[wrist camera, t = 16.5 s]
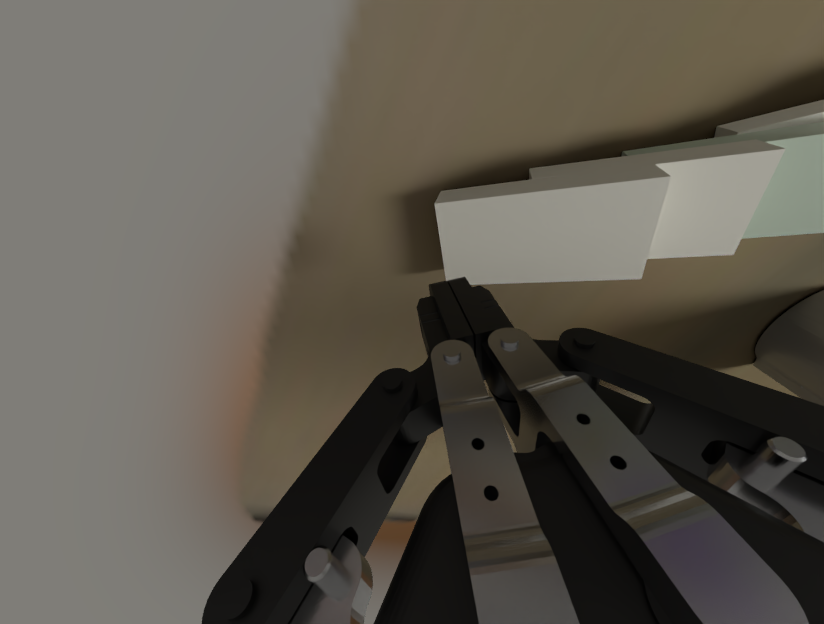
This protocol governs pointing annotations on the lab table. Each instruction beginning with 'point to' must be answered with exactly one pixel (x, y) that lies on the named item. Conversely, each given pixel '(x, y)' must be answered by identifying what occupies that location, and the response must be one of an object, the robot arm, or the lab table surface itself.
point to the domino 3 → (775, 120)
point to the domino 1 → (552, 227)
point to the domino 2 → (698, 193)
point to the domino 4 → (781, 180)
